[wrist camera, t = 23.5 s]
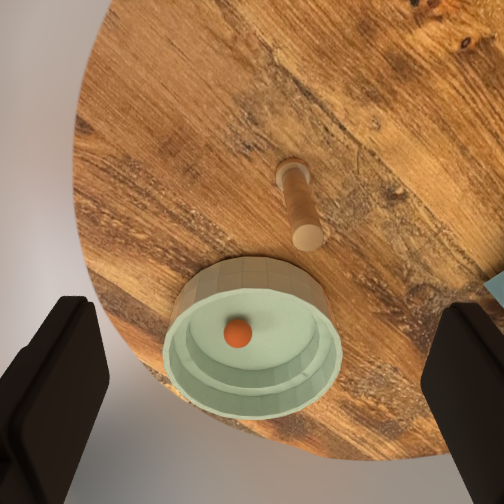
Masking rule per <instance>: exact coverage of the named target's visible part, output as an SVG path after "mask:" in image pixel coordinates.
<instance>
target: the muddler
mask: <svg viewBox="0 0 504 504" xmlns="http://www.w3.org/2000/svg"><path fill="white" fill-rule="evenodd" d="M275 178H276V184H277V186H278V188H279V189H280V190H281V191H282V192H283V193H284V196H285V202H286V207H287V213H288V219H289V224H290V230H291V236H292V241H293V244H294V246H295V247H296V248H297V249H299V250H300V251H304V252H311V251H314V250H316V249H318V248H319V247H320V246H321V245H322V243H323V241H324V233H323V230H322V227H321V224H320V221H319V218H318V215H317V212H316V209H315V205H314V202H313V199H312V196H311V193H310V190H309V187H308V186H309V184H310V180H311V175H310V172H309V169H308V167H307V165H306V164H305V163H304V162H303V161H302V160H300V159H296V158H290V159H286V160H284V161H283V162H281V163H280V164H279V166H278V167H277V169H276V173H275Z"/></svg>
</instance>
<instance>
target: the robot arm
mask: <svg viewBox="0 0 504 504" xmlns="http://www.w3.org/2000/svg"><path fill="white" fill-rule="evenodd" d="M109 377H110V376H109V370H108V365H107V360H106V356H105V351H104V346H103V342H102V337H101V333H100V328H99V324H98V319H97V315H96V310H95V306H94V304H93V302H88V300H87V298H86V297H84V296H62V297H60V299H59V300H58V301H57V303H56V304H55V306H54V307H53V309H52V310H51V311H50V313H49V314H48V316H47V317H46V319H45V320H44V322H43V323H42V325H41V326H40V328H39V329H38V331H37V332H36V334H35V335H34V337H33V338H32V340H31V341H30V342H29V344H28V345H27V346H25V347H24V348H22V349H21V350H20V351H19V352H18V354H17V355H16V357H15V358H14V360H13V361H12V362H11V364H10V365H9V367H8V368H7V370H6V371H5V373H4V374H3V375H2V377H1V378H0V504H63V503H64V501H65V498H66V496H67V493H68V490H69V488H70V485H71V483H72V480H73V477H74V475H75V472H76V469H77V467H78V464H79V462H80V459H81V456H82V454H83V451H84V449H85V446H86V443H87V440H88V438H89V436H90V433H91V430H92V428H93V425H94V422H95V420H96V417H97V415H98V412H99V409H100V407H101V404H102V402H103V399H104V396H105V394H106V391H107V389H108V385H109V379H110V378H109ZM420 383H421V389H422V392H423V394H424V396H425V399H426V401H427V403H428V405H429V407H430V410H431V412H432V414H433V416H434V418H435V420H436V423H437V425H438V427H439V429H440V431H441V433H442V436H443V438H444V440H445V442H446V444H447V446H448V449H449V451H450V453H451V455H452V457H453V460H454V462H455V464H456V466H457V468H458V470H459V473H460V475H461V477H462V479H463V481H464V483H465V486H466V488H467V490H468V492H469V494H470V496H471V498H472V501H473V503H474V504H504V335H503V334H502V333H501V331H500V330H499V329H498V328H497V326H496V325H495V324H494V323H493V321H492V320H491V319H490V318H489V316H488V315H487V314H486V313H485V311H484V310H483V309H482V308H481V306H480V305H479V304H477V303H460V302H455V303H452V304H451V305H450V307H449V308H445V309H444V311H443V313H442V316H441V319H440V322H439V325H438V328H437V331H436V334H435V337H434V340H433V343H432V346H431V349H430V352H429V355H428V358H427V361H426V364H425V367H424V370H423V373H422V376H421V382H420Z"/></svg>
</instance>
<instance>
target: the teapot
mask: <svg viewBox="0 0 504 504" xmlns="http://www.w3.org/2000/svg"><path fill="white" fill-rule="evenodd" d="M483 285H484V286H485V287H486V288H487V290H488V291H489V292H490V293H491V294H492V295H493V297H494V298H495V299H496V300H497V301H498V302H499V303H500V305H501V306H502V307H503V308H504V271H502V272H501V273H499V274H498V275H496V276H495V277H493V278H492V279H490V280H489V281H487V282H486V283H484V284H483Z"/></svg>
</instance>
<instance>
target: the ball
mask: <svg viewBox="0 0 504 504" xmlns="http://www.w3.org/2000/svg"><path fill="white" fill-rule="evenodd" d="M251 338H252V329H251V326H250V325H249V324H248V323H247V322H246V321H244V320H242V319H234V320H232V321H230V322H229V323H228V324H227V325H226V326H225V329H224V339H225V341H226V342H227V344H228V345H230V346H231V347H233V348H242V347H245V346H246V345H247V344H248V343H249V342H250V341H251Z"/></svg>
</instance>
